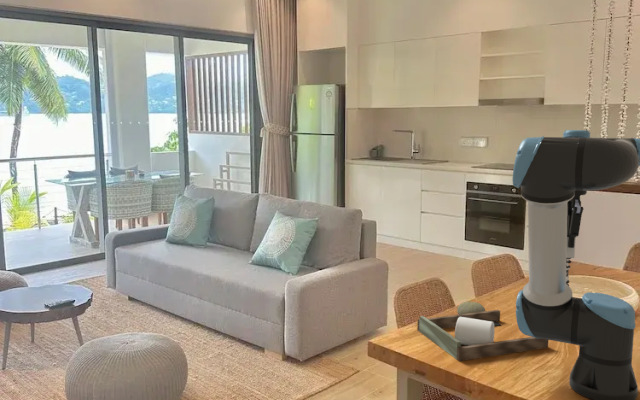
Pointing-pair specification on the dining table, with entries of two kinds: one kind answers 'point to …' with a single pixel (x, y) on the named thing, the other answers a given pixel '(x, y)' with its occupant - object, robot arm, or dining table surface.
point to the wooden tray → (453, 345)
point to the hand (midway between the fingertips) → (568, 257)
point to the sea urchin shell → (470, 308)
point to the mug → (474, 331)
